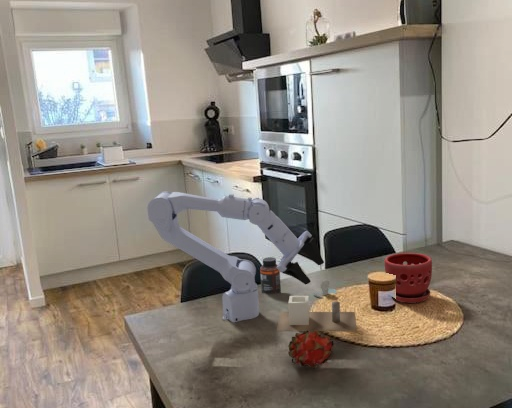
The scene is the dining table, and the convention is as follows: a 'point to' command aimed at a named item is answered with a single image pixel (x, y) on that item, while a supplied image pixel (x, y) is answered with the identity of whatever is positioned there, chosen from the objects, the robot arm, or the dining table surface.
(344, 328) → the post board
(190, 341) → the dining table surface
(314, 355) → the dragon fruit
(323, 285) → the pacifier
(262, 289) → the supplement bottle
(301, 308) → the white hollow block
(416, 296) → the plant pot
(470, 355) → the dining table surface
